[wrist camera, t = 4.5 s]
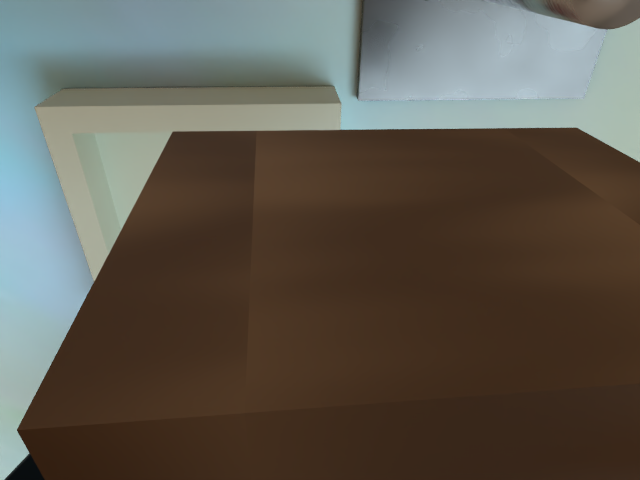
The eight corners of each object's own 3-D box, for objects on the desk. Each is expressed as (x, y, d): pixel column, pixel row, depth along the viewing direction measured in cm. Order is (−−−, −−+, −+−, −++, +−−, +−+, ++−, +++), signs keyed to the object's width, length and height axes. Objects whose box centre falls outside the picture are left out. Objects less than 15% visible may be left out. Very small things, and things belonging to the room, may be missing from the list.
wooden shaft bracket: (576, 127, 7) (996, 357, 3) (486, 388, 11) (626, 660, 7) (173, 131, 7) (16, 430, 2) (216, 407, 10) (182, 725, 6)
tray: (333, 86, 19) (341, 103, 17) (328, 288, 25) (333, 320, 23) (62, 88, 18) (34, 106, 16) (125, 297, 24) (110, 330, 22)
